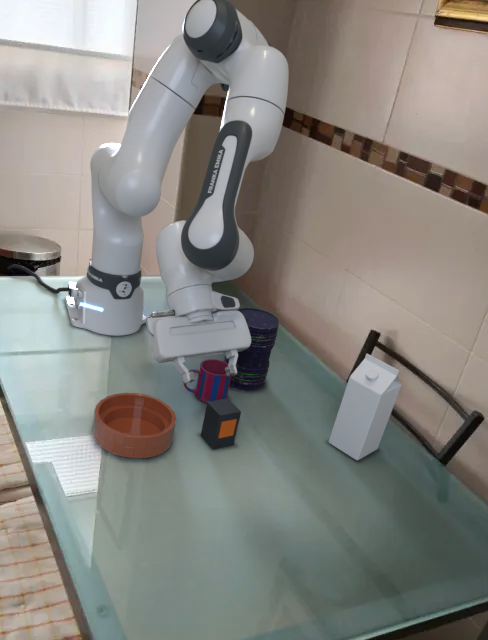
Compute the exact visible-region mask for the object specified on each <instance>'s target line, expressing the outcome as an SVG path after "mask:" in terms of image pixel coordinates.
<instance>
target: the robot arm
mask: <svg viewBox="0 0 488 640" xmlns="http://www.w3.org/2000/svg"><path fill="white" fill-rule="evenodd" d="M181 30H182V31H181V34H179V35H176V37H175V38H174V39H173V40H172V41H171V42H170V44H169V45H168V46H167V47H166V49H165V50H164V51H163V52H162V54H161V56H160V57H159V58H158V60H157V62H156V63H155V65H154V66H153V68H152V70H151V71H150V73H149V75H148V77H147V79H146V81H145V82H144V84H143V86H142V88H141V90H140V91H139V93H138V95H137V97H136V99H135V100H134V102H133V104H132V106H131V107H130V109H129V112H128V116H127V124H126V126H125V127H126V128H125V131H124V134H123V137H122V139H121V142H120V143H115V142H109V143H104V144H101V145H100V146H98V147H97V148H96V149H95V151H94V152H93V153H92V155H91V158H90V161H89V162H90V163H89V164H90V165H89V166H90V167H89V169H90V178H91V179H90V181H91V183H90V184H91V208H92V209H91V210H92V225H93V228H92V246H91V248H92V249H91V258H89V261H90V262H88V266H87V270H86V271H87V272H86V275H85V276H83V277H81V278H80V279H78V280H77V281H68V285H67V287H66V286H65V287H57V288H54V287H52V286H50V285H48V284H47V283H45V282H44V281H43V280H42V278H41V276H39V274H37V273H35V272H33V270H30V268H27V267H25V266H23V265H20V264H12V265H9V266H8V267H7V268H6V269H7V271H8V270H9V271H11V270H13V269H18V270H20V271H23V272H25V273H27V274H28V275H30V276H31V277H33V278H35V280H37V282H38V284H39V285H40V286H42V288H45V289H46V290H48V291H50V292H52V293H53V294H60V293H61V292H67V293H68V295H67V296H65V299H64V302H65V306H66V310H67V312H68V316H69V319H70V324H71V325H72V326H73V327H76V328H80V329H85V330H88V331H90V332H93V333H95V334H100V335H103V336H105V335H106V336H113V337H114V336H115V337H119V336H128V335H132V334H134V333H137V332H138V331H139V330H140V329H141V327H142V325H143V324H145V325H146V328H147V332H148V334H149V341H150V350H151V355H152V358H153V360H154V361H155V362H156V363H158V364H161V363H168V362H169V363H170V362H172V365H173V367H174V369H175V370H176V371H177V373H179V374H180V375H181V377H182V382H183V381H184V383H186V384H189V383H190V384H191V383H193V382H195V379H196V377H195V373H193V371H190V372H189V369H188V368H187V367H186V365H185V363H186V360H189V359H197V358H206V357H213V356H220V355H225V354H226V358H227V359H229V364H228V367H226V368H225V372H226V375H227V376H234V375H236V374H237V369H236V362H237V358H238V352H241V351H243V350H245V349H247V348H249V347H250V344H251V335H250V332H249V328H248V325H247V323H246V320H245V318H244V316H243V314H242V313H241V312H240V311H238V309H240V306H241V305H240V304H241V303H240V301H239V299H238V298H237V297H235V296H230V295H226V294H223V293H220V292H217V291H215V290H213V286H212V284H213V283H223V282H228V281H233V280H237V279H239V278H242V277H243V276H245V275H246V274H247V273H248V272H249V271H250V269H251V268H252V266H253V263H254V261H255V247H254V245H253V242H252V241H251V239H250V238H249V237H248V236H247V235H246V233H245V232H244V231H243V230H242V229H241V228H240V227H239V226H238V223H237V218H236V206H237V202H238V197H239V194H240V190H241V186H242V183H243V179H244V175H245V171H246V169H247V167H248V165H249V164H250V162H258V161H261V160H263V159H265V158H266V157H269V156H270V155H271V154H272V153H273V152H274V150H275V148H276V146H277V143H278V141H279V138H280V135H281V132H282V128H283V123H284V119H285V113H286V108H287V100H288V91H289V75H290V73H289V70H290V69H289V63H288V60H287V58H286V57H285V54H283V53H282V52H281V51H280V50H278V49H277V48H275V47H274V46H272V44H271V43H270V42H269V41H268V40H267V39H266V38H265V36H264V35H263V34H262V32H261V31H260V29H258V27H257V26H256V25H255V24H254V23H253V21H251V20H249V19H248V18H247V17H246V15H244V14H243V13H242V12H241V11H239V10H238V9H237V8H236V7H235V5H234V4H233V3H232V2H231V1H229V0H195V1H194V2H193V3H192V5H190V7H189V9H188V10H187V12H186V14H185V17H184V20H183V23H182V28H181ZM217 84H220V85H219V86H220V88H221V90H222V91H223V92H225V93H226V92H227V95H226V98H225V103H224V109H223V113H222V118H221V123H220V126H219V127H220V128H219V131H218V133H217V136H216V139H215V141H214V144H213V147H212V151H211V154H210V157H209V161H208V165H207V169H206V173H205V175H204V180H203V183H202V187H201V190H200V193H199V197H198V199H197V202H196V204H195V206H194V207H193V209H192V210H191V213H190V214H189V216H187V219H186V220H184V219H183V220H182V219H181V220H177V221H174V222H171V223H169V224H167V225H165V226H164V227H163V228H162V229H161V230H160V231H159V232H158V233H157V235H156V239H155V254H156V260H157V265H158V270H159V274H160V278H161V281H162V282H163V284H164V286H165V290H166V291H165V297H166V302H167V306H168V310H164V311H152V312H151V313H150V314H149V315H147V316H146V314H144V304H145V303H144V302H145V291H144V289H143V287H142V286H140V285H141V281H142V276H143V275H142V274H143V273H142V268H141V262H142V256H143V255H142V253H143V247H144V246H143V245H144V229H143V222H142V217H145V216H147V215H149V214H151V213H152V212H153V211H154V210H155V209H156V208H157V207H158V205H159V202H160V200H161V196H162V186H163V185H162V184H163V180H164V178H165V175H166V172H167V169H168V166H169V163H170V160H171V158H172V154H173V152H174V149H175V147H176V145H177V143H178V141H179V139H180V137H181V136H182V134H183V132H184V130H185V128H186V126H187V125H188V123H189V121H190V120H191V118H192V116H193V114H194V113H195V111H196V109H197V108H198V107H199V106H198V105H199V104H200V102H201V100H202V99H203V96H204V94H205V93H206V91H207V90H208V89H209V88H211V86H214V85H217ZM184 383H183V384H184Z"/></svg>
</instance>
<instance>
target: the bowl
mask: <svg viewBox="0 0 488 640" xmlns="http://www.w3.org/2000/svg"><path fill="white" fill-rule="evenodd" d="M176 421H177V416H176V413H175V411H174V410H173V408H172V407H171V406H170V405H169V404H168V403H166V402H164V401H163V400H161V399H160V398H157V397H155V396H151V395H148V394H143V393H138V392H120V393H114V394H111V395H108V396H105V397H104V398H102V399H101V400H99V401H98V403H97V404H95V407H94V411H93V421H92V422H93V423H92V435H93V439H94V440H95V442H96V443H97V444H98V445H99V446H100V447H101V448H102V449H103V450H105V451H107V452H109V453H110V454H114V455H116V456H119V457H122V458H123V457H124V458H131V459H148V458H152V457H156V456H158V455H161V454H164V453H165V452H166V451H167V450H169V449H170V447H171V445H172V444H173V439H174V434H175V427H176Z"/></svg>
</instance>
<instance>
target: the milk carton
mask: <svg viewBox="0 0 488 640" xmlns="http://www.w3.org/2000/svg"><path fill="white" fill-rule="evenodd" d="M399 373H400V369H397V368H396V367H394V366H391V365H390V364H388V363H386V362H385V361H382V360H380V359H378V358H376V357H375V356H373V355H370V354H369V353H366V354H365V357H364V358H363V360H362V361H361V362H360V363H359V365H357V367H356V368H355V370H353V372H352V373H351V374H350V375H349V378H348V381H347V384H346V386H345V389H344V393H343V396H342V400H341V402H340V405H339V407H338V411H337V414H336V417H335V420H334V423H333V426H332V429H331V433H330V435H329V439H328V443H329V444H330V445H331V446H333V447H334V448H337V449H338V450H339V451H341V452H342V453H344V454H345V455H347V456H349V457H350V458H352V459H353V460H356V461H359V460H361V459H363V458H365V457H366V456H368V455H370V454H372V453H373V452H375V451H377V450H378V449H379V445H380V443H381V440H382V438H383V435H384V433H385V431H386V428H387V425H388V423H389V420H390V417H391V415H392V412H393V409H394V406H395V405H396V401H397V399H398V396H399V393H400V390H401V388H402V383H401V381H400V378H399Z"/></svg>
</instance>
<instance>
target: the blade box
mask: <svg viewBox="0 0 488 640" xmlns="http://www.w3.org/2000/svg"><path fill="white" fill-rule="evenodd" d="M241 414H242V411H241V410H240V409H239V408H238V407H237V406H236V405H235V404H234V402H232V401H231V400H230V399H229V398H227V399H222V400H216V401H210V402H207V403H206V405H205V410H204V416H203V417H204V418H203V421H202V426H201V431H200V437H201V439H203V441H205V443H206V444H208V446H209V447H210V448H211V449H212V450H216V449H221V448H226V447H230V446H234V444H235V441H236V436H237V432H238V427H239V423H240V418H241V416H242V415H241Z"/></svg>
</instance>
